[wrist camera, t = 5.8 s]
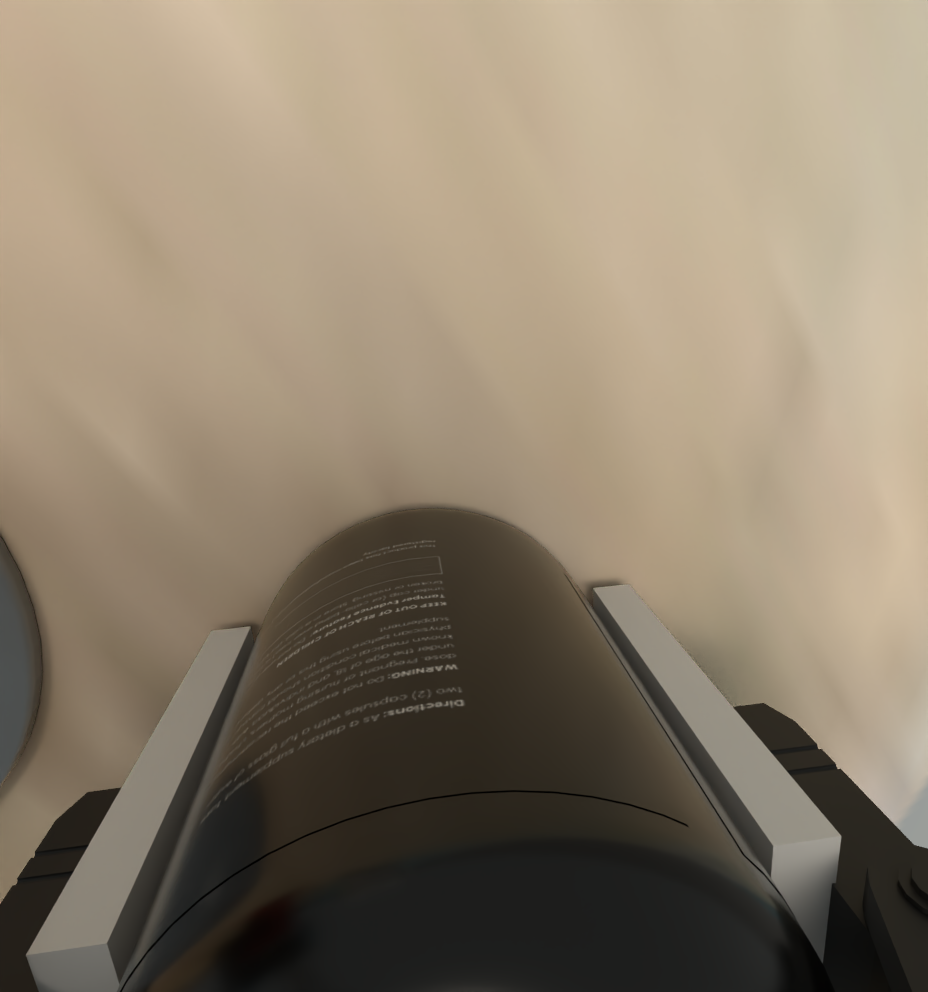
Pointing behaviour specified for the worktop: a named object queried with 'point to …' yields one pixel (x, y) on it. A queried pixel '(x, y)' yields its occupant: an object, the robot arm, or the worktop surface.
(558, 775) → the supplement bottle
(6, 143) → the worktop surface
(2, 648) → the coaster
